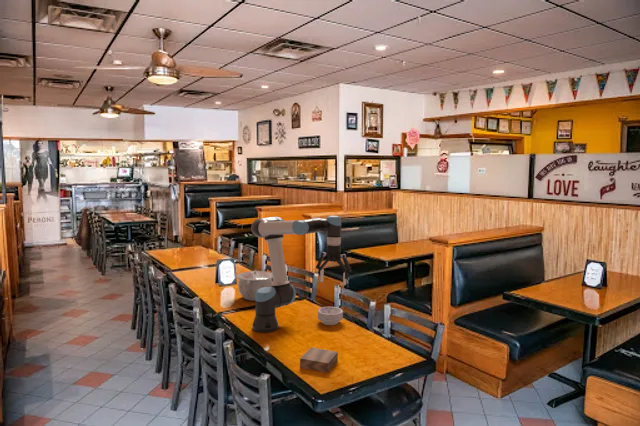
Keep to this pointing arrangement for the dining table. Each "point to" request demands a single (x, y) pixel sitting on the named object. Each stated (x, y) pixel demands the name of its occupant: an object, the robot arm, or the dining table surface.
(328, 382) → the dining table surface
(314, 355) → the walnut block
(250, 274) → the chamber pot
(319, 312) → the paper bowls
